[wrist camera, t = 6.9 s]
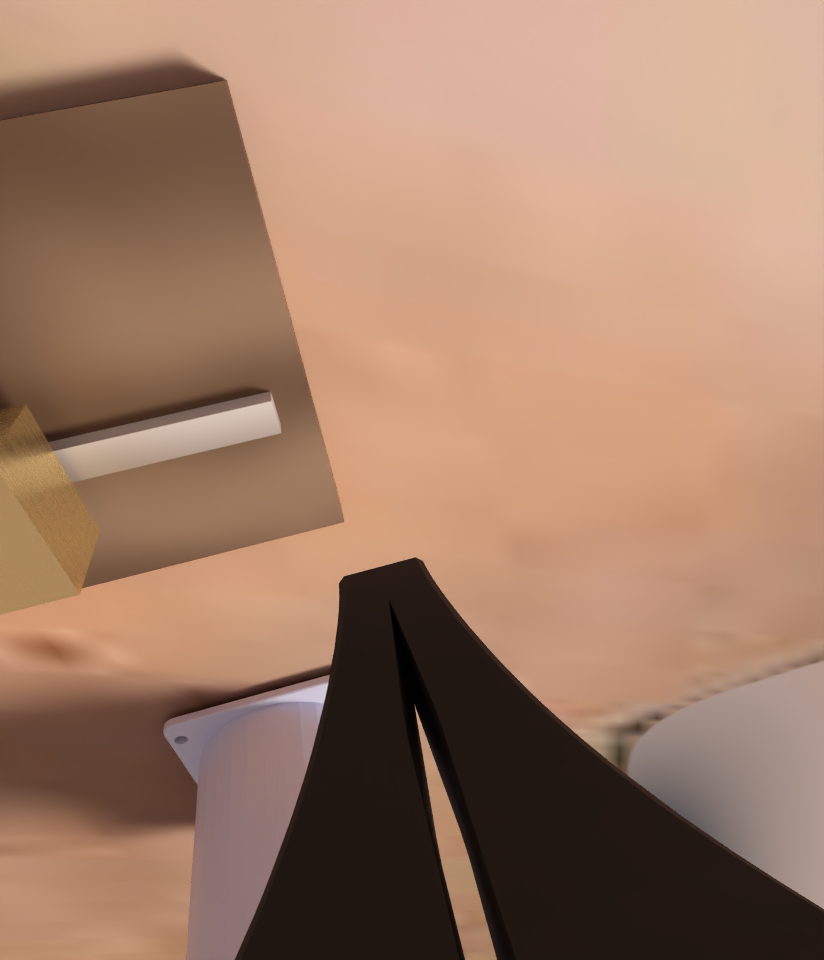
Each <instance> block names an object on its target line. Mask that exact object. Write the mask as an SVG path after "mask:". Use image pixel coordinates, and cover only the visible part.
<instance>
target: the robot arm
mask: <svg viewBox="0 0 824 960" xmlns="http://www.w3.org/2000/svg"><path fill="white" fill-rule="evenodd" d="M414 704H415V706H414ZM415 707H416V710H417V712H418V715H419V718H420V721H421V723H422V726H423V729H424V732H425V734H426V737H427V740H428V743H429V745H430V748H431V751H432V754H433V756H434V759H435V762H436V765H437V767H438V770H439V773H440V776H441V778H442V781H443V784H444V787H445V789H446V792H447V795H448V798H449V800H450V803H451V806H452V809H453V811H454V814H455V817H456V820H457V822H458V825H459V828H460V831H461V834H462V837H463V840H464V843H465V846H466V849H467V853H468V856H469V859H470V862H471V866H472V870H473V873H474V877H475V880H476V884H477V888H478V891H479V895H480V899H481V902H482V906H483V910H484V913H485V917H486V920H487V924H488V928H489V931H490V935H491V939H492V942H493V946H494V950H495V953H496V957H497V960H824V909H822V908H821V907H819V906H818V905H816V904H815V903H813V902H811V901H810V900H808V899H806V898H805V897H803V896H802V895H800V894H798V893H797V892H795V891H794V890H792V889H790V888H789V887H787V886H786V885H784V884H782V883H781V882H779V881H777V880H776V879H774V878H773V877H771V876H770V875H768V874H767V873H765V872H764V871H762V870H760V869H759V868H757V867H756V866H754V865H753V864H751V863H750V862H748V861H747V860H745V859H744V858H742V857H740V856H739V855H737V854H736V853H734V852H733V851H731V850H730V849H728V848H727V847H726V846H724V845H723V844H721V843H720V842H718V841H717V840H715V839H714V838H712V837H711V836H710V835H708V834H707V833H705V832H704V831H702V830H701V829H699V828H698V827H696V826H695V825H694V824H692V823H691V822H689V821H688V820H686V819H685V818H683V817H682V816H681V815H679V814H678V813H677V812H675V811H674V810H673V809H671V808H670V807H669V806H667V805H666V804H664V803H663V802H662V801H661V800H659V799H658V798H657V797H655V796H654V795H653V794H651V793H650V792H649V791H647V790H646V789H645V788H643V787H642V786H641V785H639V784H638V783H637V782H635V781H634V780H633V779H631V778H630V777H629V776H627V775H626V774H625V773H623V772H622V771H621V770H619V769H618V768H617V767H615V766H614V765H613V764H612V763H610V762H609V761H608V760H607V759H606V758H604V757H603V756H602V755H601V754H600V753H598V752H597V751H596V750H595V749H593V748H592V747H591V746H590V745H589V744H587V743H586V742H585V741H584V740H583V739H581V738H580V737H579V736H578V735H577V734H576V733H574V732H573V731H572V730H571V729H570V728H569V727H568V726H567V725H565V724H564V723H563V722H562V721H561V720H560V719H559V718H557V717H556V716H555V715H554V714H553V713H552V712H551V711H550V710H549V709H548V708H547V707H545V706H544V705H543V704H542V703H541V702H540V701H539V700H538V699H537V698H536V697H535V696H534V695H533V694H532V693H531V692H530V691H529V690H528V689H527V688H526V687H525V686H524V685H523V684H522V683H521V682H520V681H519V680H518V679H517V678H516V677H515V676H514V675H513V674H512V673H511V672H510V671H509V670H508V669H507V668H506V667H505V666H504V665H503V664H502V663H501V662H500V661H499V660H498V659H497V658H496V657H495V655H494V654H493V653H492V652H491V651H490V650H489V649H488V648H487V647H486V645H485V644H484V643H483V642H482V641H481V640H480V639H479V637H478V636H477V635H476V634H475V633H474V632H473V631H472V629H471V628H470V627H469V626H468V625H467V624H466V622H465V621H464V620H463V619H462V617H461V616H460V615H459V614H458V613H457V611H456V610H455V609H454V607H453V606H452V605H451V603H450V602H449V601H448V599H447V598H446V597H445V595H444V594H443V593H442V591H441V590H440V588H439V587H438V586H437V584H436V583H435V581H434V580H433V578H432V576H431V575H430V573H429V572H428V570H427V568H426V566H425V565H424V563H423V561H422V560H420V559H418V558H412V559H408V560H404V561H400V562H397V563H393V564H389V565H385V566H382V567H378V568H374V569H370V570H367V571H363V572H359V573H355V574H352V575H348V576H344V577H343V579H342V580H341V581H340V583H339V615H338V626H337V634H336V641H335V649H334V654H333V660H332V665H331V671H330V675H326V676H323V677H319V678H316V679H312V680H308V681H305V682H301V683H298V684H294V685H290V686H287V687H283V688H279V689H276V690H272V691H269V692H265V693H261V694H258V695H254V696H251V697H247V698H243V699H240V700H236V701H232V702H229V703H225V704H222V705H218V706H214V707H211V708H207V709H204V710H200V711H196V712H193V713H189V714H185V715H182V716H178V717H175V718H172V719H169V720H168V721H167V722H166V723H165V725H164V730H163V734H164V736H165V738H166V739H167V741H168V742H169V744H170V745H171V747H172V748H173V750H174V751H175V753H176V754H177V756H178V757H179V758H180V760H181V761H182V763H183V764H184V766H185V767H186V769H187V770H188V772H189V773H190V775H191V776H192V778H193V779H194V781H195V782H196V784H197V785H198V791H197V805H196V820H195V834H194V849H193V864H192V878H191V893H190V907H189V922H188V937H187V951H186V960H465V958H464V953H463V949H462V945H461V941H460V937H459V933H458V929H457V925H456V921H455V917H454V913H453V909H452V905H451V901H450V897H449V893H448V889H447V884H446V880H445V876H444V872H443V868H442V864H441V859H440V854H439V849H438V844H437V839H436V833H435V827H434V821H433V815H432V809H431V803H430V797H429V790H428V784H427V778H426V772H425V766H424V760H423V754H422V748H421V742H420V736H419V730H418V724H417V718H416V712H415Z"/></svg>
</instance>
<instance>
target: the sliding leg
mask: <svg viewBox="0 0 824 960" xmlns="http://www.w3.org/2000/svg"><path fill="white" fill-rule="evenodd" d="M99 532H100V530H99V528H98V527H97V525H96V523H95V521H94V520H93V518H92V516H91V515H90V513H89V511H88V509H87V508H86V506H85V504H84V503H83V501H82V499H81V497H80V496H79V494H78V492H77V491H76V489H75V487H74V485H73V484H72V482H71V480H70V478H69V477H68V475H67V473H66V472H65V470H64V468H63V466H62V465H61V463H60V461H59V460H58V458H57V456H56V454H55V453H54V451H53V449H52V448H51V446H50V444H49V442H48V441H47V439H46V437H45V436H44V434H43V432H42V430H41V429H40V427H39V425H38V424H37V422H36V420H35V418H34V417H33V415H32V413H31V412H30V410H29V408H28V406H27V405H26V404H24V405H19V406H15V407H10V408H6V409H1V410H0V615H1V614H5V613H9V612H12V611H16V610H20V609H24V608H28V607H32V606H36V605H40V604H44V603H48V602H52V601H56V600H60V599H64V598H68V597H72V596H76V595H80V593H81V589H82V586H83V583H84V580H85V577H86V574H87V570H88V567H89V564H90V561H91V558H92V555H93V551H94V548H95V545H96V542H97V539H98V535H99Z"/></svg>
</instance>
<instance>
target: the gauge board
mask: <svg viewBox="0 0 824 960" xmlns="http://www.w3.org/2000/svg"><path fill="white" fill-rule="evenodd" d="M24 404H26V405H27V406H28V408H29V410H30V412H31V413H32V415H33V417H34V418H35V420H36V422H37V424H38V425H39V427H40V429H41V430H42V432H43V434H44V436H45V437H46V439H47V441H48V442H49V444H50V446H51V448H52V449H53V451H54V453H55V454H56V456H57V458H58V460H59V461H60V463H61V465H62V466H63V468H64V470H65V472H66V473H67V475H68V477H69V478H70V480H71V482H72V484H73V485H74V487H75V489H76V491H77V492H78V494H79V496H80V497H81V499H82V501H83V503H84V504H85V506H86V508H87V509H88V511H89V513H90V515H91V516H92V518H93V520H94V521H95V523H96V525H97V527H98V528H99V530H100V532H99V535H98V539H97V542H96V545H95V548H94V551H93V555H92V558H91V561H90V564H89V567H88V570H87V574H86V577H85V580H84V583H83V586H82V588H85V587H89V586H93V585H97V584H101V583H105V582H109V581H113V580H117V579H121V578H125V577H129V576H133V575H137V574H140V573H144V572H148V571H152V570H156V569H160V568H164V567H168V566H172V565H176V564H180V563H184V562H188V561H192V560H196V559H200V558H204V557H208V556H212V555H216V554H220V553H224V552H228V551H232V550H236V549H239V548H243V547H247V546H251V545H255V544H259V543H263V542H267V541H271V540H275V539H279V538H283V537H287V536H291V535H295V534H299V533H303V532H307V531H311V530H315V529H319V528H323V527H327V526H331V525H334V524H338V523H342V522H344V518H343V513H342V509H341V504H340V500H339V496H338V493H337V489H336V485H335V481H334V478H333V474H332V470H331V467H330V463H329V459H328V455H327V452H326V448H325V444H324V441H323V437H322V433H321V429H320V426H319V422H318V418H317V414H316V411H315V407H314V403H313V400H312V396H311V392H310V388H309V385H308V381H307V377H306V374H305V370H304V366H303V362H302V359H301V355H300V351H299V347H298V344H297V340H296V336H295V333H294V329H293V325H292V321H291V318H290V314H289V310H288V307H287V303H286V299H285V295H284V292H283V288H282V284H281V280H280V277H279V273H278V269H277V266H276V262H275V258H274V254H273V251H272V247H271V243H270V240H269V236H268V232H267V228H266V225H265V221H264V217H263V213H262V210H261V206H260V202H259V199H258V195H257V191H256V187H255V184H254V180H253V176H252V173H251V169H250V165H249V161H248V158H247V154H246V150H245V146H244V143H243V139H242V135H241V132H240V128H239V124H238V120H237V117H236V113H235V109H234V106H233V102H232V98H231V94H230V91H229V87H228V83H227V80H223V81H217V82H212V83H206V84H200V85H195V86H189V87H184V88H178V89H172V90H167V91H161V92H155V93H150V94H144V95H139V96H133V97H127V98H122V99H116V100H111V101H105V102H99V103H94V104H88V105H82V106H77V107H71V108H66V109H60V110H54V111H49V112H43V113H37V114H32V115H26V116H21V117H15V118H9V119H4V120H0V410H1V409H6V408H10V407H15V406H19V405H24Z"/></svg>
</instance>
